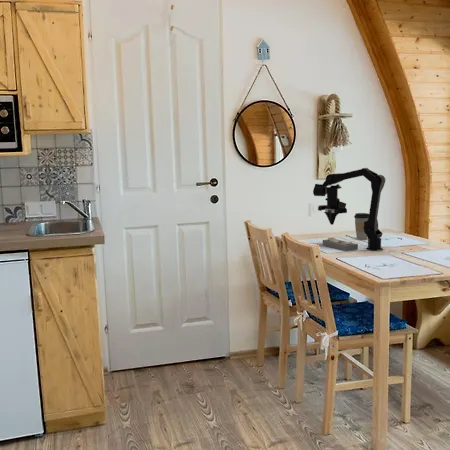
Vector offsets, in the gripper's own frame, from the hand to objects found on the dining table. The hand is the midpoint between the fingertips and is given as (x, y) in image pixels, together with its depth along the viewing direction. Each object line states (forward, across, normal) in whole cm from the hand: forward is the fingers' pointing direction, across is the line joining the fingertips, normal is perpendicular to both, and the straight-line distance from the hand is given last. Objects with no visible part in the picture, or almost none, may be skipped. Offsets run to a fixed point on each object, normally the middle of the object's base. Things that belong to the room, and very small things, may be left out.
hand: (332, 224), depth 290 cm
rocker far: (+9, -2, 0) cm, 9 cm away
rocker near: (+9, -12, 0) cm, 15 cm away
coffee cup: (+12, +7, -28) cm, 31 cm away
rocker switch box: (+12, -7, 0) cm, 14 cm away
